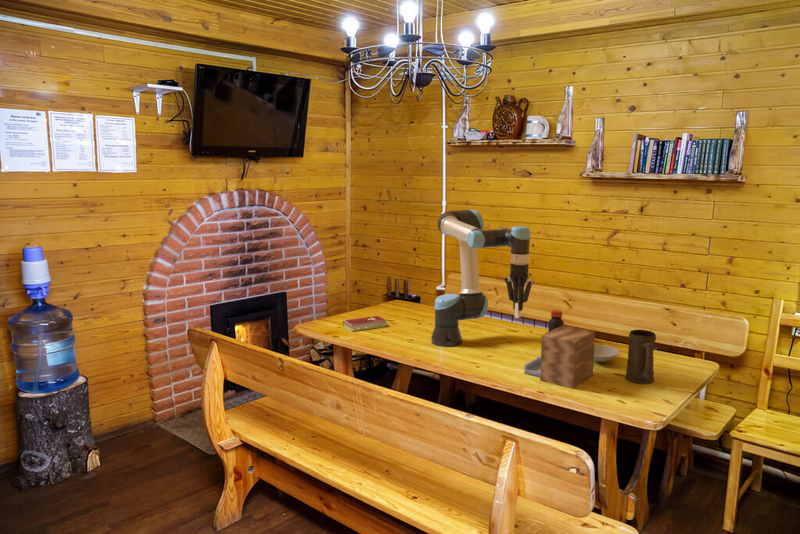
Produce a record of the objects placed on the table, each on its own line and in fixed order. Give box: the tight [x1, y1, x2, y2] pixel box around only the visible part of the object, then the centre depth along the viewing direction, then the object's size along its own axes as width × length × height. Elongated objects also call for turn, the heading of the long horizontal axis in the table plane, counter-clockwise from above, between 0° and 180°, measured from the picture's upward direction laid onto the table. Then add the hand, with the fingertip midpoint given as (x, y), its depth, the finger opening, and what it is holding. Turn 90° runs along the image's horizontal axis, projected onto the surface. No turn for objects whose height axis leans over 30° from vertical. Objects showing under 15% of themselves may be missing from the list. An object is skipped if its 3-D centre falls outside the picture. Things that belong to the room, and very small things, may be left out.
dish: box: [594, 344, 620, 363], centre depth 255 cm, size 18×14×5 cm
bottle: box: [547, 309, 565, 333], centre depth 266 cm, size 7×7×20 cm
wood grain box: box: [539, 324, 596, 390], centre depth 235 cm, size 14×19×19 cm
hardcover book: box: [342, 315, 388, 332], centre depth 315 cm, size 12×21×4 cm, turn 117°
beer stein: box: [625, 329, 657, 385], centre depth 230 cm, size 15×11×20 cm
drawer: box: [523, 356, 541, 378], centre depth 240 cm, size 20×13×4 cm, turn 49°
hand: (517, 317), depth 248 cm, fingers closed
